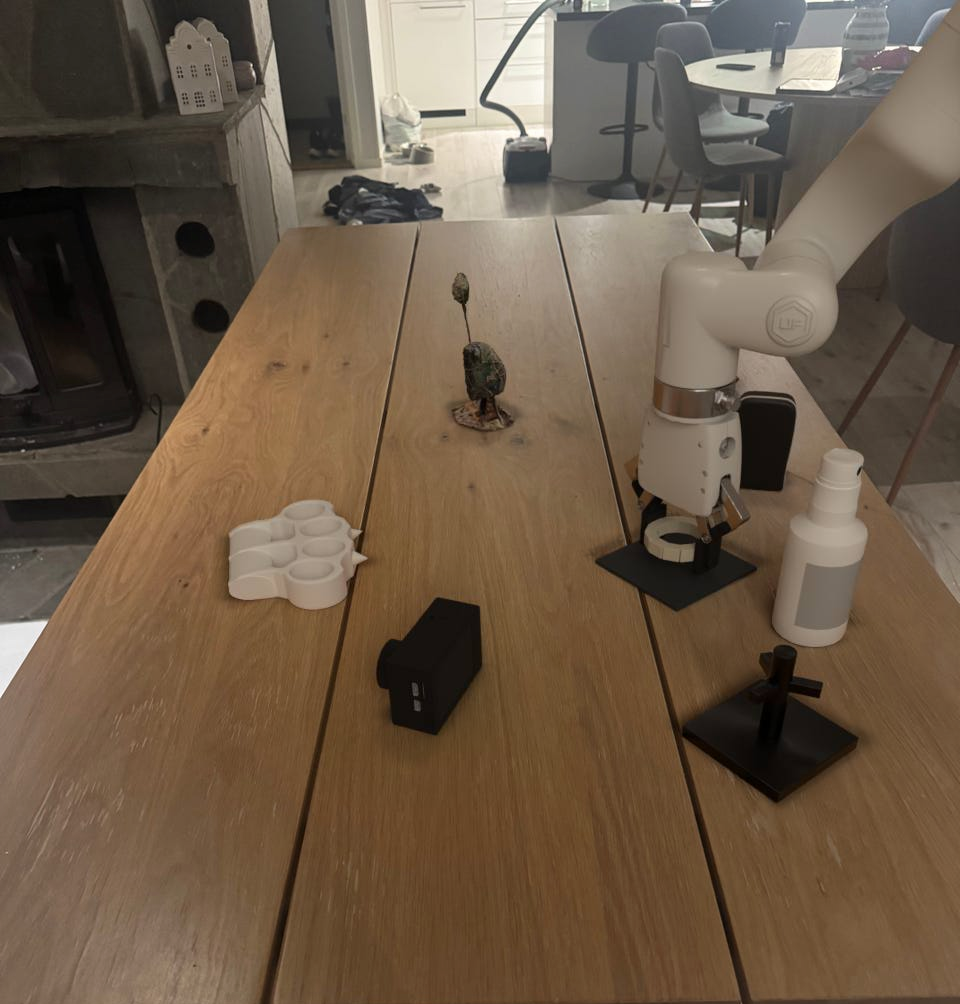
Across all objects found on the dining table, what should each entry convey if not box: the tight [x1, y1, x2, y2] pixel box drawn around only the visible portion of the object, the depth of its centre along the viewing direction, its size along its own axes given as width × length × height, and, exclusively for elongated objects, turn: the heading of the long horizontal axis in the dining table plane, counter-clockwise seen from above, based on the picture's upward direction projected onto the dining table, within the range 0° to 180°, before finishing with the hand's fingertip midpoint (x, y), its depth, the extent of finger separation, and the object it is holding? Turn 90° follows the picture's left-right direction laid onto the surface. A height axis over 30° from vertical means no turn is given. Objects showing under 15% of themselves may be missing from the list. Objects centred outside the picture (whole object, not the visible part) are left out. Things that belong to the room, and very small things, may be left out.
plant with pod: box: [451, 272, 515, 432], centre depth 127 cm, size 8×11×20 cm
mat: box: [594, 532, 758, 612], centre depth 102 cm, size 12×12×1 cm
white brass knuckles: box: [227, 499, 369, 611], centre depth 104 cm, size 3×18×15 cm
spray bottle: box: [771, 447, 869, 648], centre depth 87 cm, size 7×7×18 cm
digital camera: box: [375, 596, 483, 736], centre depth 84 cm, size 10×5×7 cm, turn 157°
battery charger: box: [736, 390, 798, 492], centre depth 113 cm, size 7×4×11 cm, turn 75°
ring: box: [644, 515, 701, 562], centre depth 100 cm, size 7×7×1 cm
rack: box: [681, 644, 860, 804], centre depth 77 cm, size 10×10×10 cm
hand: (677, 554), depth 101 cm, fingers closed on ring, 6 cm apart
